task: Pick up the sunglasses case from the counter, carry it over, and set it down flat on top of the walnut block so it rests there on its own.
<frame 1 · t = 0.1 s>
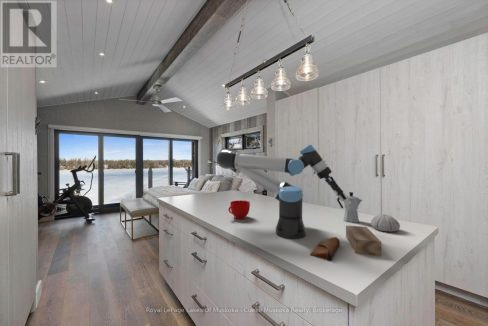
hand: (345, 201, 113), 15 cm above the worktop, tool tilted 35°, fingers open, 13 cm apart
sunglasses case: (325, 251, 87), on the worktop
ceramic cup: (238, 218, 136), on the worktop
coffee maker: (349, 220, 131), on the worktop
sea urchin shell: (384, 229, 115), on the worktop
walnut block: (361, 246, 93), on the worktop
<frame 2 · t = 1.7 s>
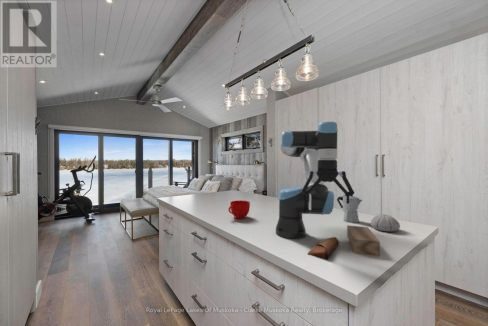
hand: (326, 210, 87), 17 cm above the worktop, tool pointing down, fingers open, 13 cm apart
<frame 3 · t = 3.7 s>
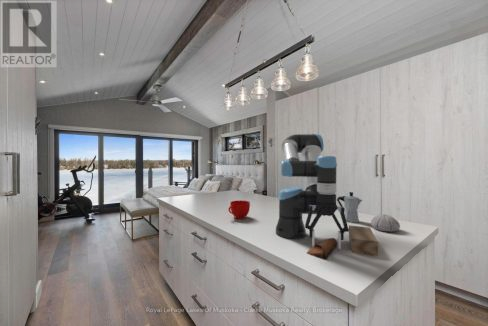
hand: (326, 246, 87), 2 cm above the worktop, tool pointing down, fingers open, 9 cm apart
sunglasses case: (322, 252, 88), on the worktop, touching gripper
everything else where it was.
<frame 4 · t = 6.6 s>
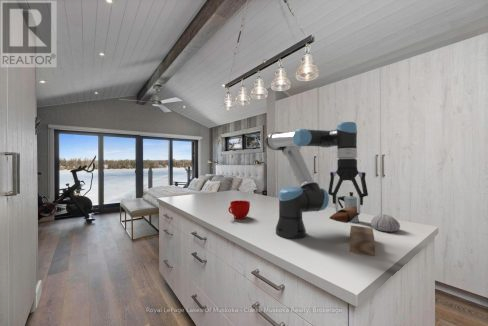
hand: (347, 211, 89), 16 cm above the worktop, tool pointing down, fingers closed on sunglasses case, 8 cm apart
sunglasses case: (345, 218, 91), point 13 cm above the worktop, touching gripper
when the fingers open (9 cm above the worktop, at t = 9.1 s): sunglasses case stays where it is, resting on walnut block.
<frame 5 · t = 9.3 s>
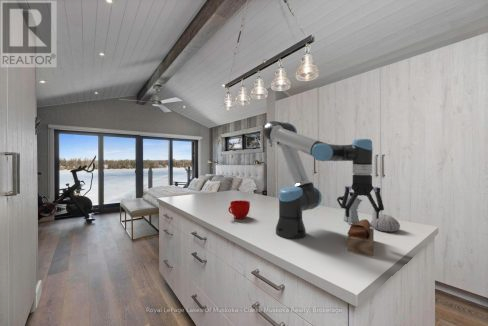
hand: (361, 225, 92), 9 cm above the worktop, tool pointing down, fingers open, 9 cm apart
sunglasses case: (359, 232, 94), point 5 cm above the worktop, touching walnut block
walnut block: (361, 246, 93), on the worktop, touching sunglasses case
everything else where it was.
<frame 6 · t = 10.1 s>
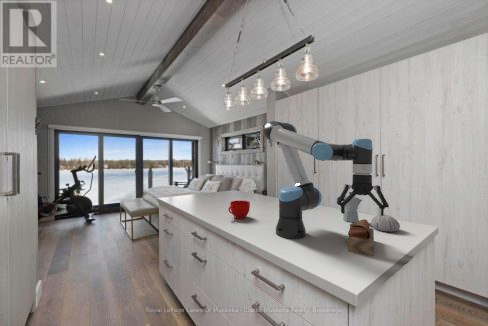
hand: (361, 221, 93), 10 cm above the worktop, tool pointing down, fingers open, 13 cm apart
nothing on the worktop moved.
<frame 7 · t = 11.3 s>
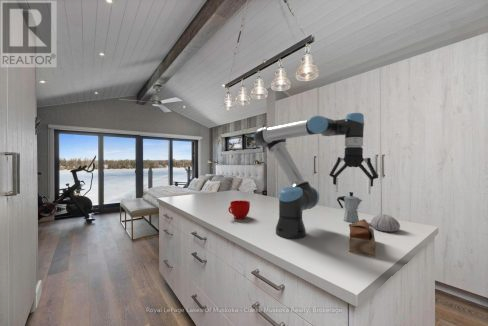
hand: (352, 192, 98), 23 cm above the worktop, tool pointing down, fingers open, 13 cm apart
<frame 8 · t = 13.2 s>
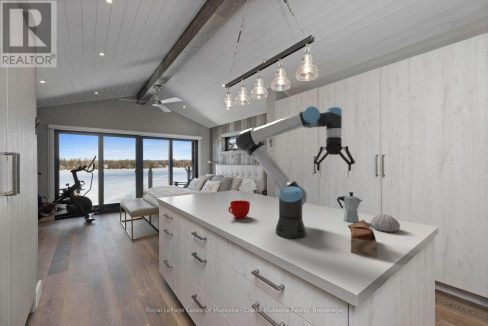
hand: (333, 177, 111), 29 cm above the worktop, tool pointing down, fingers open, 13 cm apart
at the end: sunglasses case inside the target area on the walnut block (1.2 cm from its centre), point 5.8 cm above the walnut block's base; sunglasses case touching walnut block; the gripper is holding nothing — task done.
